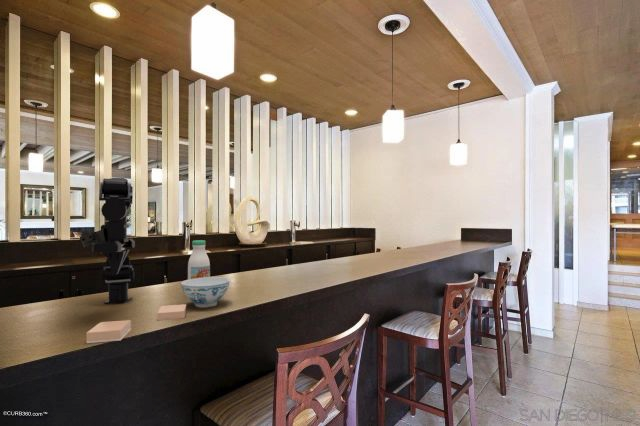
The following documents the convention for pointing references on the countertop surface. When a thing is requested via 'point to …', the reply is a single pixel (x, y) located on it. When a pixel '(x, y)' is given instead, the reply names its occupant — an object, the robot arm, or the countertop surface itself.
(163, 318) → the finished tile
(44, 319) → the countertop surface
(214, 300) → the chinaware
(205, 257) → the milk bottle
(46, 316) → the countertop surface
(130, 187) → the robot arm
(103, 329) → the tile
